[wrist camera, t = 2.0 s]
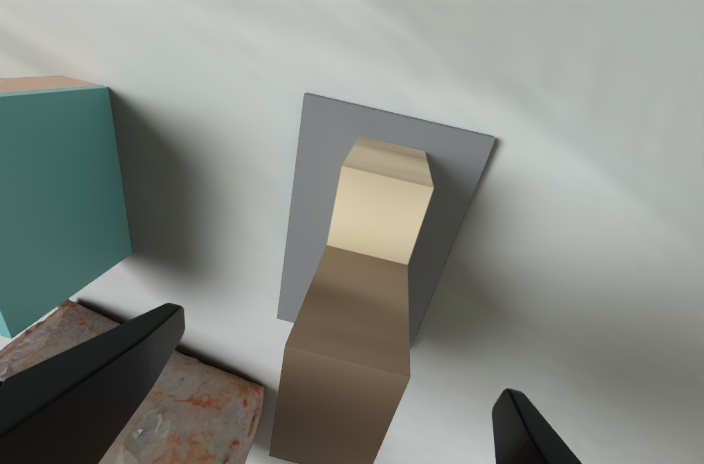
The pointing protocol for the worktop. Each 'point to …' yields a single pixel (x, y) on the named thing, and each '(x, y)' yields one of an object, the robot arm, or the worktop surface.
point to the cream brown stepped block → (355, 314)
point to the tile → (56, 195)
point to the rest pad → (323, 177)
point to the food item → (156, 398)
